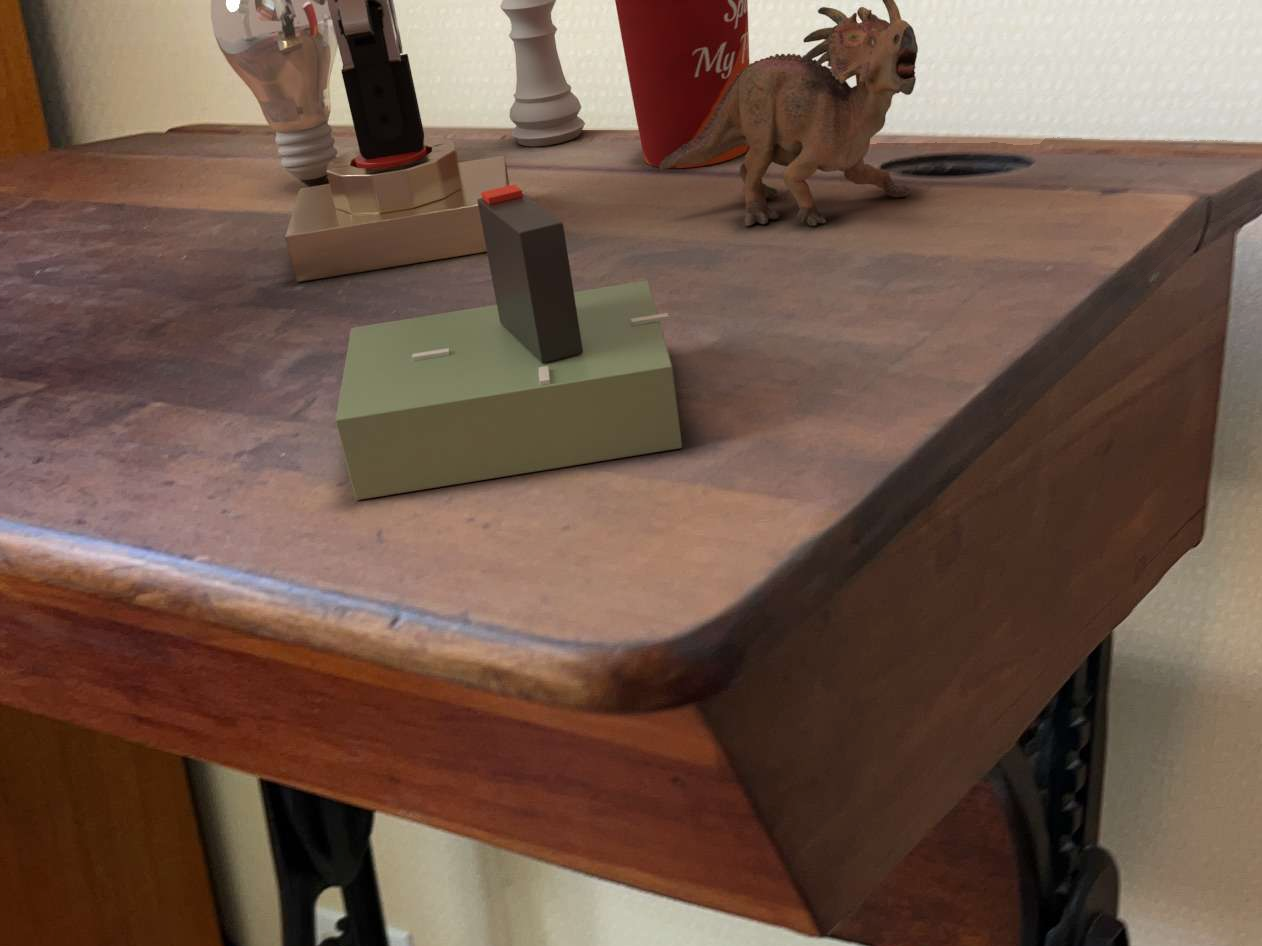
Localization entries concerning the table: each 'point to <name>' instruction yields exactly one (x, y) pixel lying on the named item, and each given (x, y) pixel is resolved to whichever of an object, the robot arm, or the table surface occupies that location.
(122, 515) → the table surface
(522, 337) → the block
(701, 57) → the coffee cup
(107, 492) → the table surface
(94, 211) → the table surface
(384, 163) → the red button
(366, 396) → the control panel
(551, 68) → the rook chess piece
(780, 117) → the dinosaur figurine
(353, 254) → the button block
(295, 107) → the light bulb
